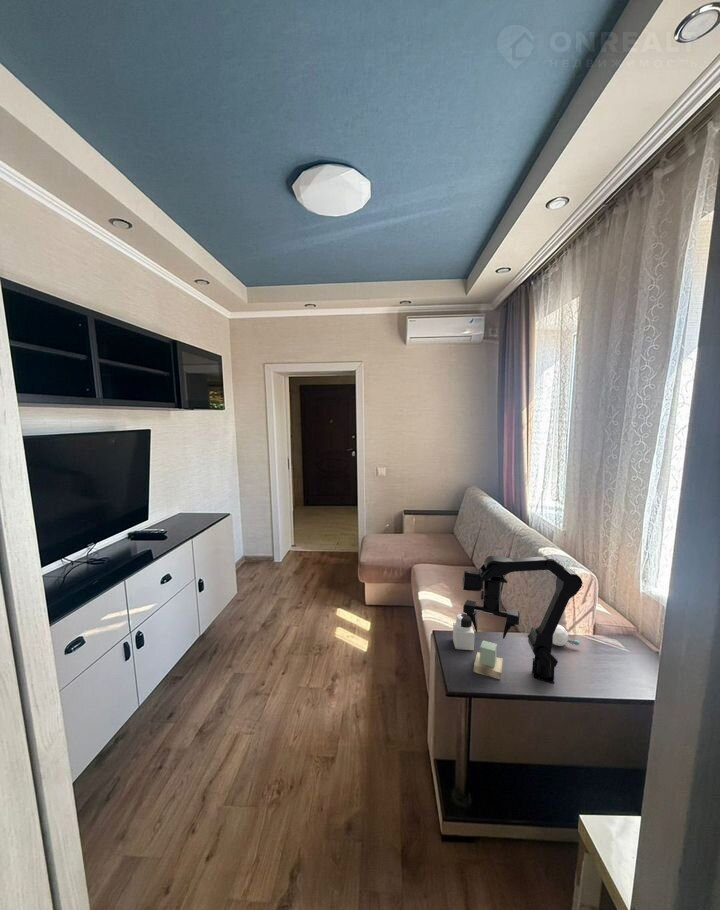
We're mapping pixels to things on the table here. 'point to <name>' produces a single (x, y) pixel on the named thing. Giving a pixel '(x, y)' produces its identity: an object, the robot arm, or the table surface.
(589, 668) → the table surface
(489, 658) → the green block
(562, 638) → the perfume bottle
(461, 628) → the medicine bottle
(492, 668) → the oak slab
